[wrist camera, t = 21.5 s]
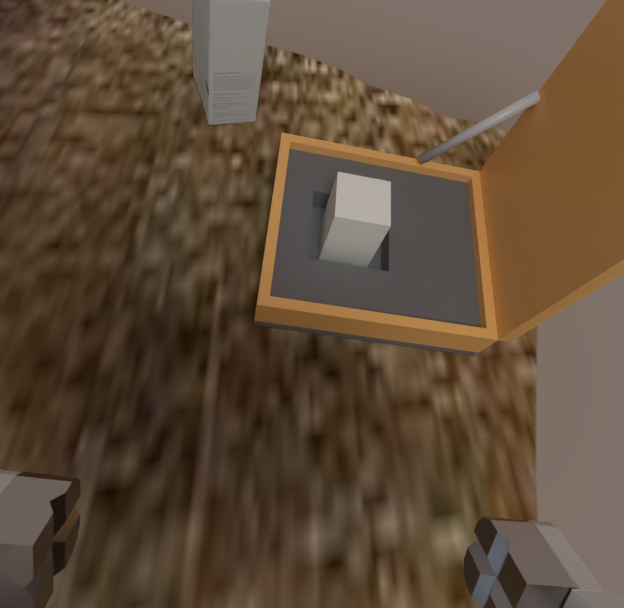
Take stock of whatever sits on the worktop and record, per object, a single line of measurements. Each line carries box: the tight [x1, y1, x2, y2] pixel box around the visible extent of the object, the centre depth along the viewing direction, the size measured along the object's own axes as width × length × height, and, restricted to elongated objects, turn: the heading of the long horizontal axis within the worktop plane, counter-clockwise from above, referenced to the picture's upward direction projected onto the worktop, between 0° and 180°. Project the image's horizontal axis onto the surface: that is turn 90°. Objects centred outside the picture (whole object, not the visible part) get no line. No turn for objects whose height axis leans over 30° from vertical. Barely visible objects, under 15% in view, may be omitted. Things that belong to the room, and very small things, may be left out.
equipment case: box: [254, 0, 624, 356], centre depth 36 cm, size 23×20×26 cm
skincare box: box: [192, 0, 271, 125], centre depth 47 cm, size 8×6×15 cm
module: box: [318, 172, 391, 268], centre depth 44 cm, size 5×5×8 cm
